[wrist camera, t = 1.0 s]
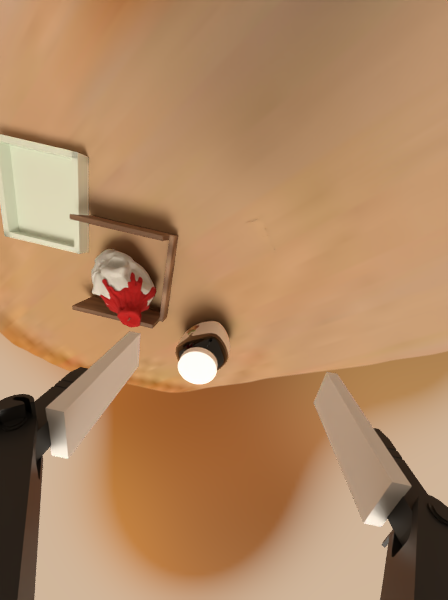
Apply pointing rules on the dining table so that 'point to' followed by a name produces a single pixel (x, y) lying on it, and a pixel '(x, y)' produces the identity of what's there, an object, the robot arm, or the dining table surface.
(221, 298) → the dining table surface
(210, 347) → the spread jar
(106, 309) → the walnut holder
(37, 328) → the dining table surface
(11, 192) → the sage tray
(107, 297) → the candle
